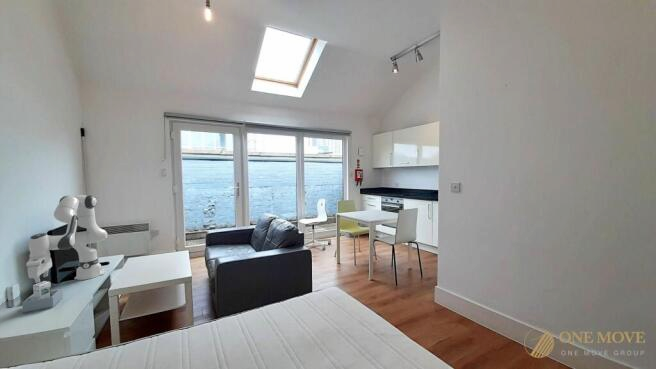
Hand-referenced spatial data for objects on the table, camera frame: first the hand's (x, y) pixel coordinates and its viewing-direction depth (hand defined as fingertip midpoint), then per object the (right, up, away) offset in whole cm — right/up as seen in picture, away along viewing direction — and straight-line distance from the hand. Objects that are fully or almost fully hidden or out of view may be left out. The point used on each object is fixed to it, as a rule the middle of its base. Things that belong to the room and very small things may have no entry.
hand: (41, 279), depth 165 cm
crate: (+1, -18, +1) cm, 18 cm away
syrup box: (+1, -17, 0) cm, 17 cm away
